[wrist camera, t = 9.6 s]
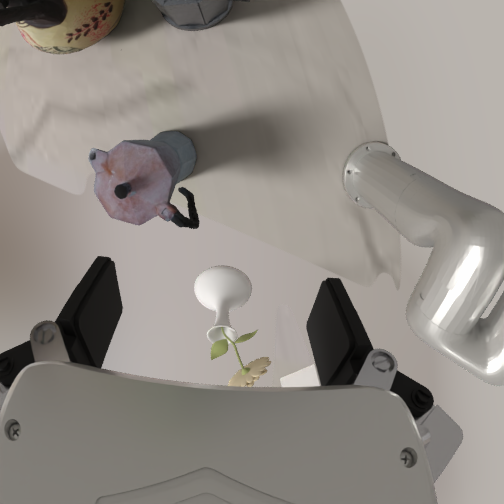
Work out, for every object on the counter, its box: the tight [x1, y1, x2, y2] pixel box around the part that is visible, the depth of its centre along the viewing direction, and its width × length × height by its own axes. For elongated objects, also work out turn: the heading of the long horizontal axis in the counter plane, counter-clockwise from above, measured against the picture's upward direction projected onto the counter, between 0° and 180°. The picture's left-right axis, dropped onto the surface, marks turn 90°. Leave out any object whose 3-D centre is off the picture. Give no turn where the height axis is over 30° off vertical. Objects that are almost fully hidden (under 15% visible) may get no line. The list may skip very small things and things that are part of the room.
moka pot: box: [88, 131, 199, 229], centre depth 32 cm, size 10×15×20 cm, turn 53°
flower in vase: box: [194, 266, 271, 387], centre depth 44 cm, size 13×11×25 cm
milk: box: [280, 364, 321, 387], centre depth 66 cm, size 12×12×26 cm
